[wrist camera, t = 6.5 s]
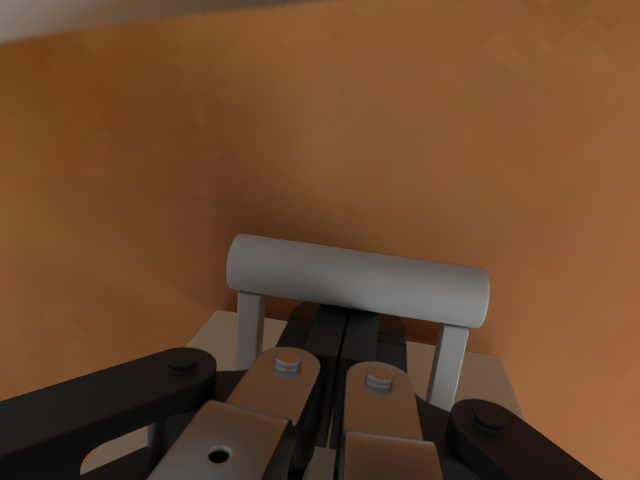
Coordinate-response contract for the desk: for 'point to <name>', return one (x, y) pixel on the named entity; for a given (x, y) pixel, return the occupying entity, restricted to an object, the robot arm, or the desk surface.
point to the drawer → (357, 293)
